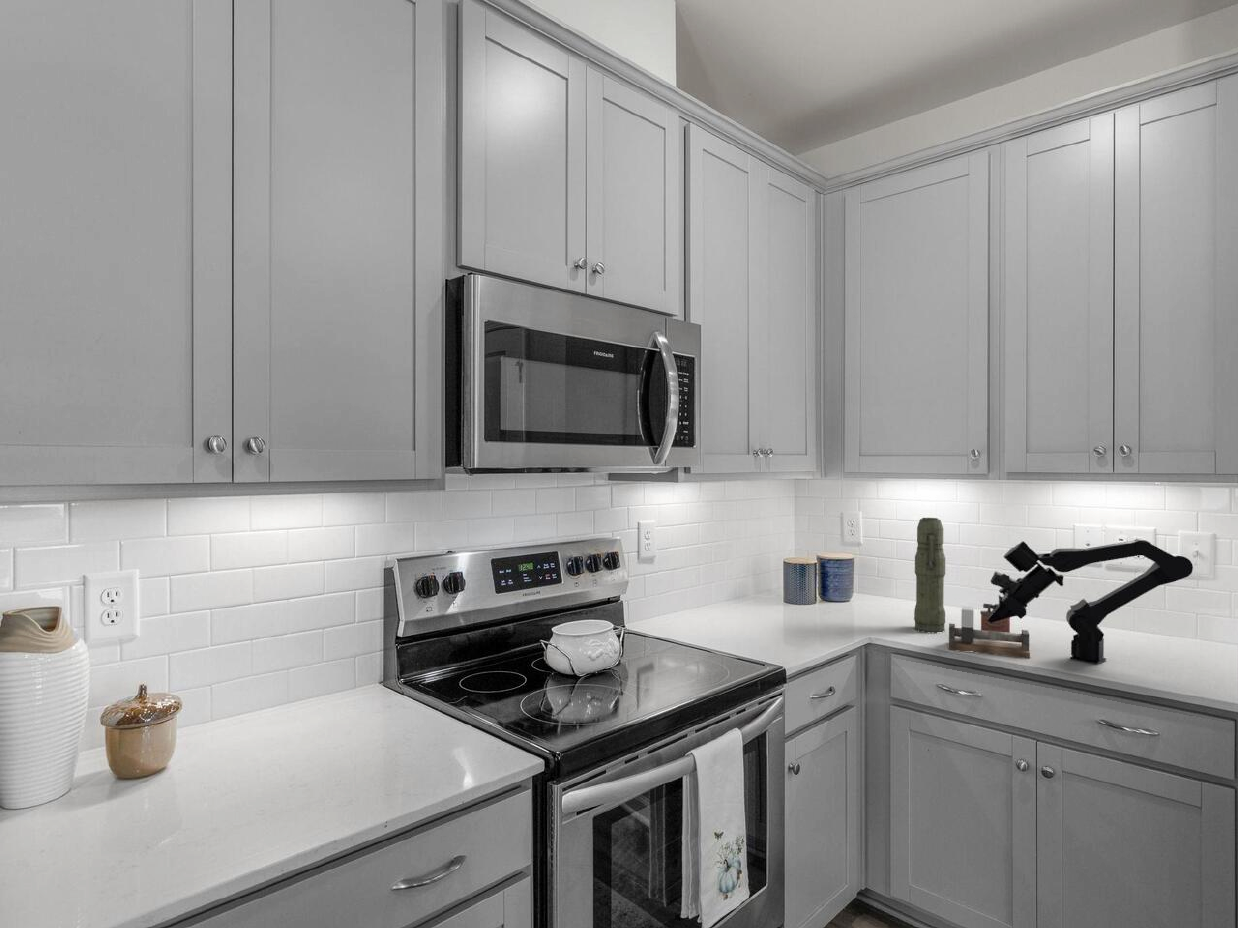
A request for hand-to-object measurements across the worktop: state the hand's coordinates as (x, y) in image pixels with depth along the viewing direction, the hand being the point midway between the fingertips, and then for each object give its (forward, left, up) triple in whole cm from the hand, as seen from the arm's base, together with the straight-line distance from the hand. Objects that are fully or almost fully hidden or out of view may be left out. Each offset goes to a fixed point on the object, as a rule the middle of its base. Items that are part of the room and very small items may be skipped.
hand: (988, 621), depth 206 cm
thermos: (+23, -9, -8) cm, 26 cm away
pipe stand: (0, 0, -8) cm, 8 cm away
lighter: (+6, -16, -8) cm, 19 cm away
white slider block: (+5, +3, -6) cm, 8 cm away
